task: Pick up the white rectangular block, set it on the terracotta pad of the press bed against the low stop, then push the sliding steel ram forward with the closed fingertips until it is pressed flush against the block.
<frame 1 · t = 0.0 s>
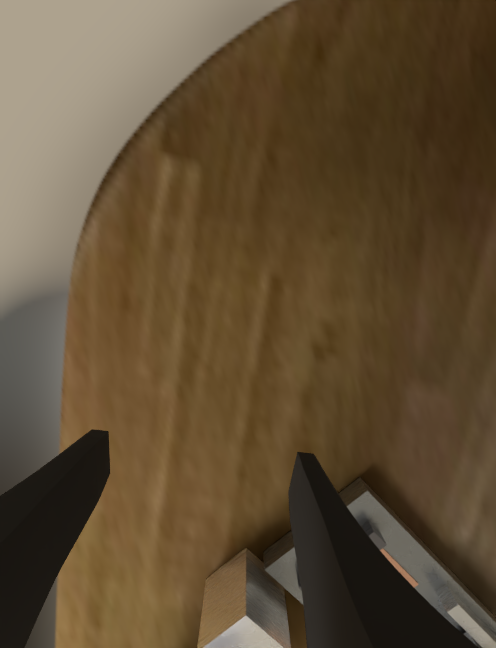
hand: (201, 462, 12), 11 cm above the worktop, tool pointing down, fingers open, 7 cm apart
white rectangular block: (244, 579, 26), on the worktop
press bed: (381, 583, 26), on the worktop
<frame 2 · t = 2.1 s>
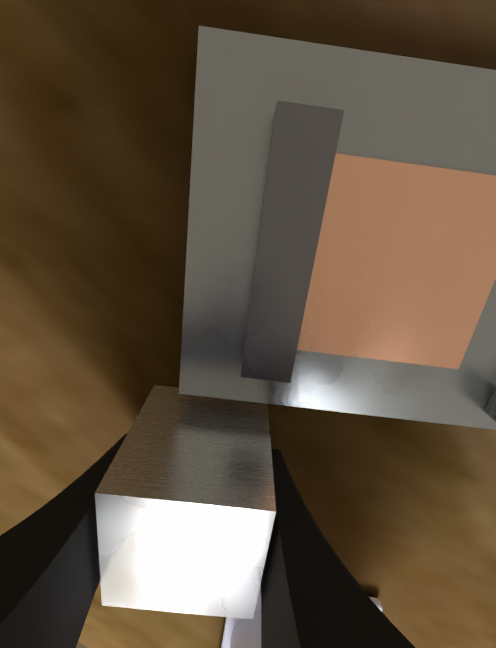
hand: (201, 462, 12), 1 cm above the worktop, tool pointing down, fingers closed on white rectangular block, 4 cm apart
white rectangular block: (206, 436, 13), on the worktop, touching gripper
press bed: (458, 274, 11), on the worktop
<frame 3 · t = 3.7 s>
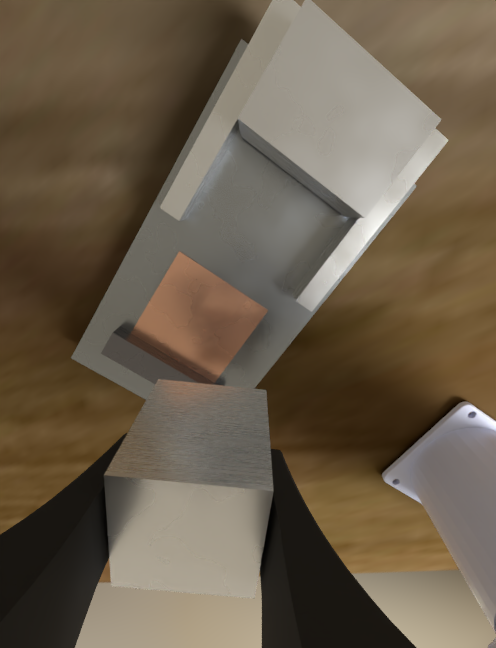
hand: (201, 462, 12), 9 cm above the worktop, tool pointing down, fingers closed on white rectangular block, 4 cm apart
white rectangular block: (209, 428, 14), point 7 cm above the worktop, touching gripper
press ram: (329, 129, 12), point 3 cm above the worktop, slide at 0.0 cm
press bed: (227, 275, 18), on the worktop
when the fingers open (4 cm above the worktop, at t = 5.2 s): white rectangular block stays where it is, resting on press bed.
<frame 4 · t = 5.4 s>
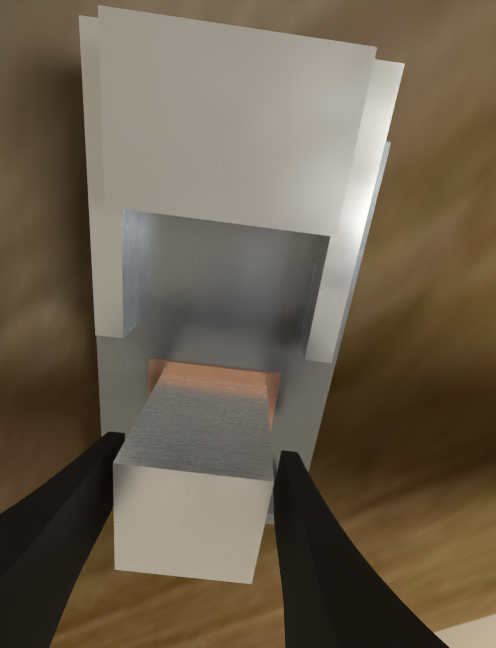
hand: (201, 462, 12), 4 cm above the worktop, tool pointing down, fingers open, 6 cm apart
white rectangular block: (209, 422, 14), point 2 cm above the worktop, touching press bed
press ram: (233, 145, 9), point 3 cm above the worktop, slide at 0.0 cm
press bed: (219, 350, 15), on the worktop
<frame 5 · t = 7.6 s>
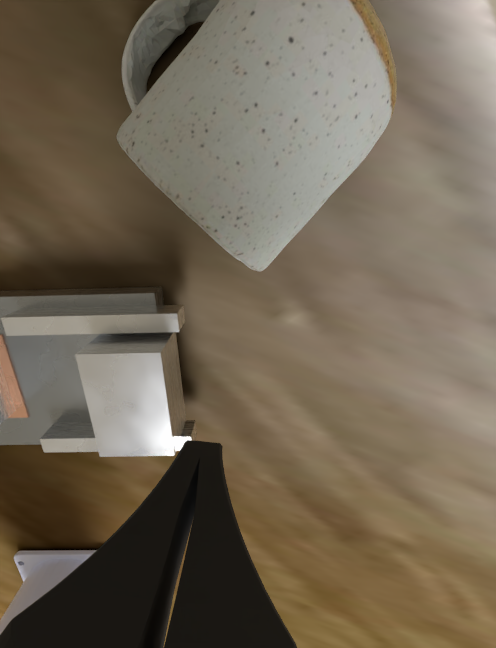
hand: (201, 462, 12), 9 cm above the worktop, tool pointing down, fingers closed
ceramic mug: (233, 137, 16), on the worktop
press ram: (138, 391, 17), point 3 cm above the worktop, slide at 0.0 cm
press bed: (33, 365, 20), on the worktop
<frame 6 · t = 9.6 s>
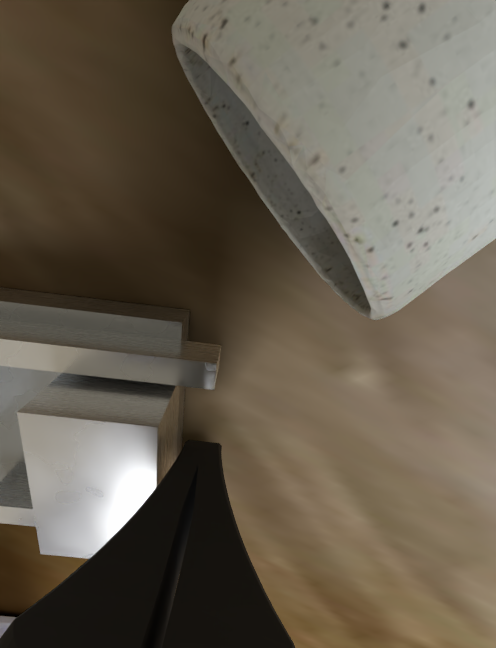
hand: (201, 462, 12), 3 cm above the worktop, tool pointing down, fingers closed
ceramic mug: (330, 98, 10), on the worktop
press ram: (113, 461, 11), point 3 cm above the worktop, slide at 0.9 cm, touching gripper
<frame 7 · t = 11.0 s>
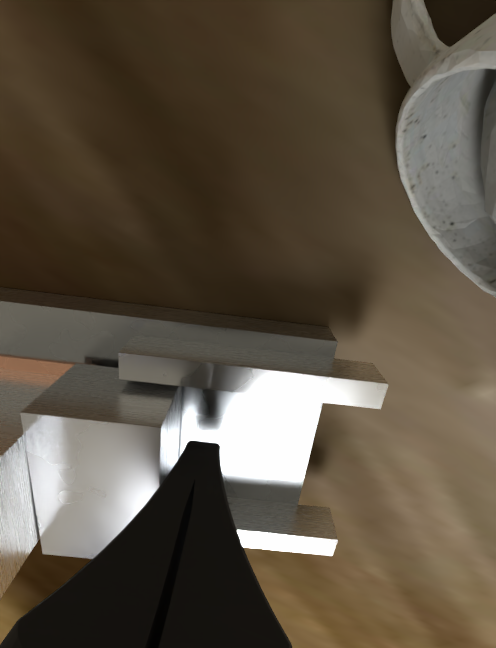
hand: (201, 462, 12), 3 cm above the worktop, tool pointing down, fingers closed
ceramic mug: (492, 111, 10), on the worktop
white rectangular block: (28, 418, 13), point 2 cm above the worktop, touching press bed, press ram
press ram: (115, 461, 11), point 3 cm above the worktop, slide at 6.6 cm, touching gripper, white rectangular block
press bed: (114, 403, 14), on the worktop
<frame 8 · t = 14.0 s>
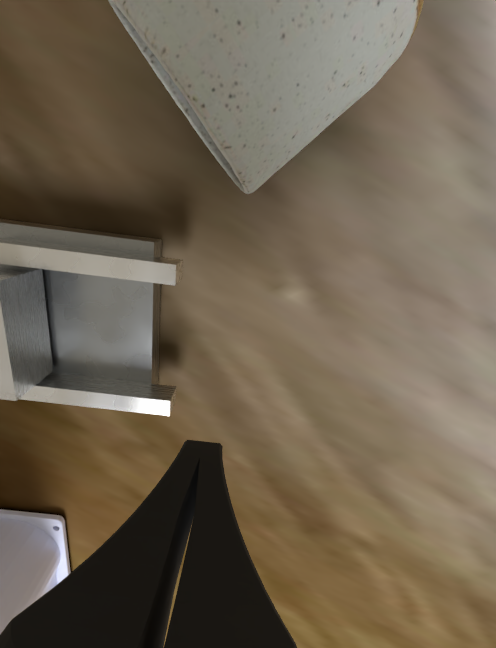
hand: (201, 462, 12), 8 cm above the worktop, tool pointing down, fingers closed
ceramic mug: (241, 55, 15), on the worktop
press bed: (9, 305, 19), on the worktop
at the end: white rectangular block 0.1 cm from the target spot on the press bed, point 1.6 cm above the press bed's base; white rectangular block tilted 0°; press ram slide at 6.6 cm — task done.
